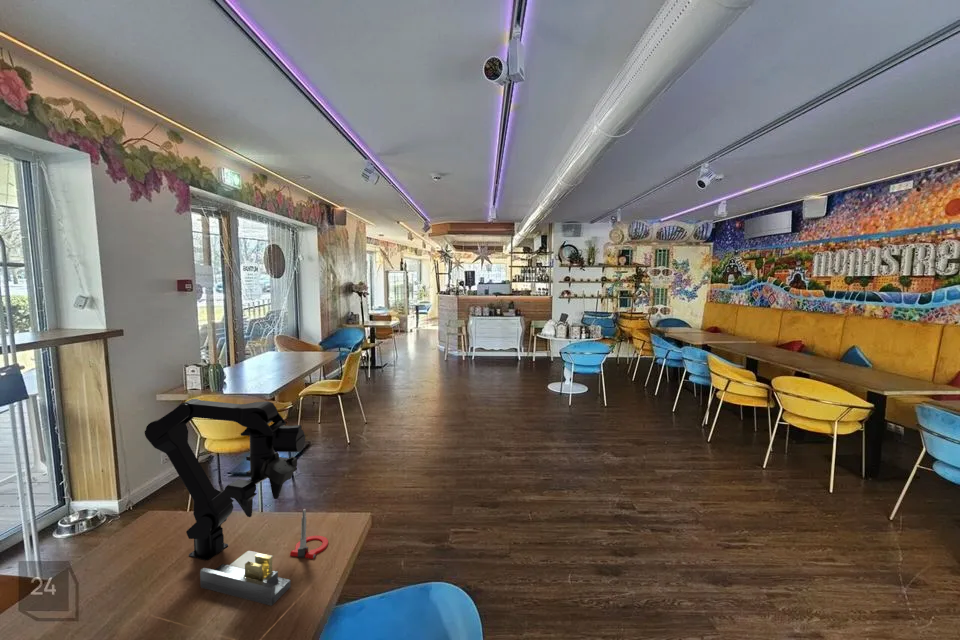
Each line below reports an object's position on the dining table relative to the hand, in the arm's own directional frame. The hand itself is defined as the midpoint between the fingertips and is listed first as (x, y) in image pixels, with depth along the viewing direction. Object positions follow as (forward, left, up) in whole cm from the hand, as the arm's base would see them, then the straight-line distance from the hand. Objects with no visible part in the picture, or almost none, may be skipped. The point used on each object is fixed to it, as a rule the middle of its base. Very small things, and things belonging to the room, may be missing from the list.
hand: (263, 507), depth 107 cm
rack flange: (+6, -12, -12) cm, 18 cm away
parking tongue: (0, -4, -12) cm, 13 cm away
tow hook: (+11, +5, -13) cm, 18 cm away
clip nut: (+9, -11, -10) cm, 18 cm away
